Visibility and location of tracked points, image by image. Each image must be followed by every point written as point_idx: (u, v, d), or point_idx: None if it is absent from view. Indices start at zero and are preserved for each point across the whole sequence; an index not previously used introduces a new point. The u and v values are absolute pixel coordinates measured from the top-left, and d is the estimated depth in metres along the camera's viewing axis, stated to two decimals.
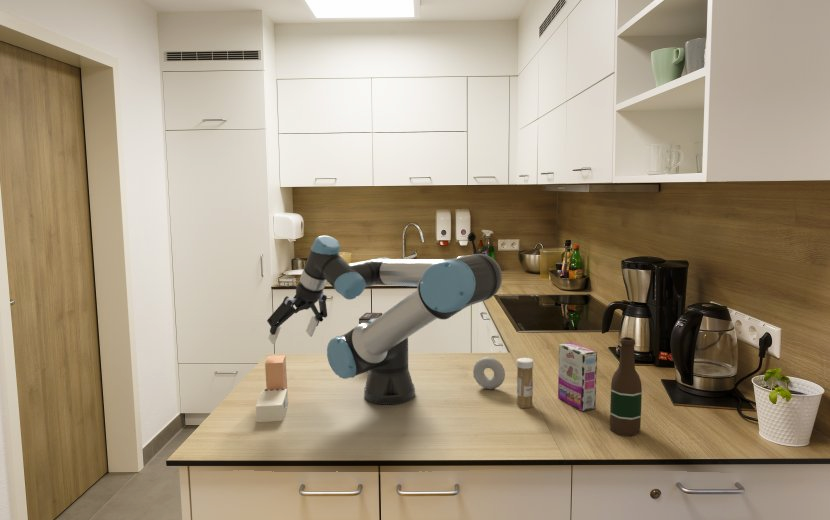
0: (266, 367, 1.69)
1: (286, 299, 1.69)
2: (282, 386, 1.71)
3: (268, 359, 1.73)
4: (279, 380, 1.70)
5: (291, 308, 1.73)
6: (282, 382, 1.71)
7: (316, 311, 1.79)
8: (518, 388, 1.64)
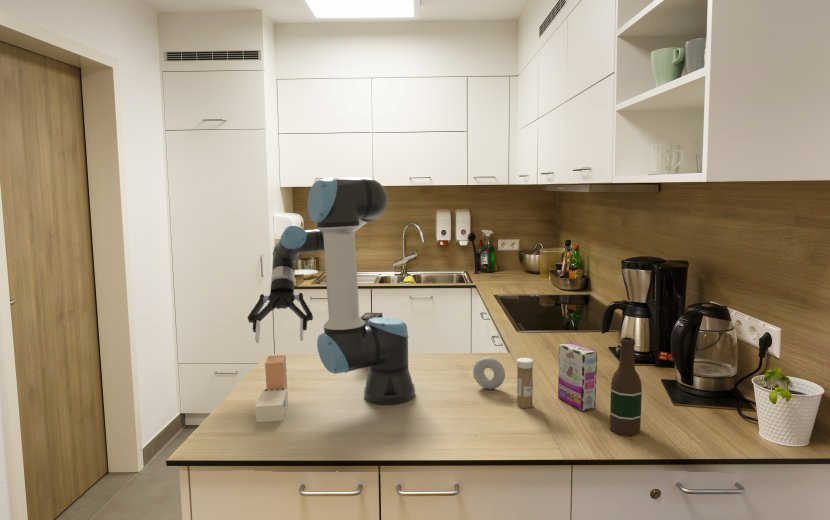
0: (266, 367, 1.69)
1: None
2: (282, 386, 1.71)
3: (268, 359, 1.73)
4: (279, 380, 1.70)
5: None
6: (282, 382, 1.71)
7: (296, 307, 1.89)
8: (518, 388, 1.64)
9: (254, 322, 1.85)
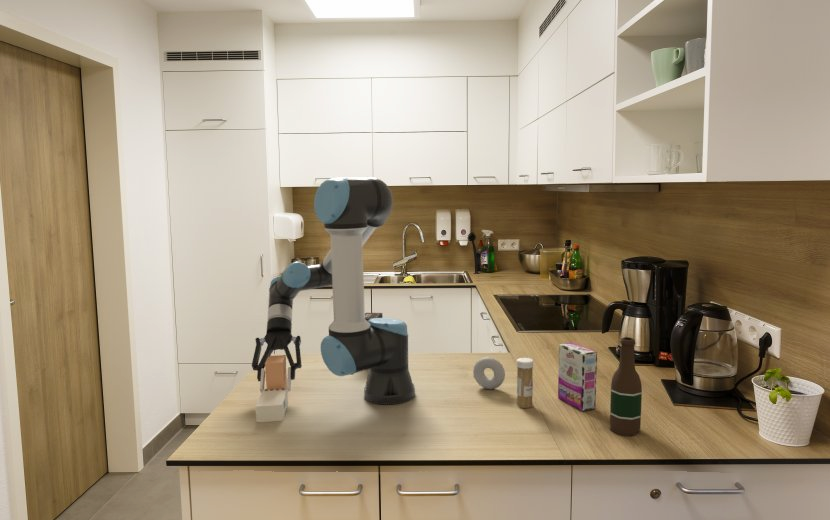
0: (266, 367, 1.69)
1: None
2: (282, 386, 1.71)
3: (268, 359, 1.73)
4: (279, 380, 1.70)
5: None
6: (282, 382, 1.71)
7: (288, 352, 1.77)
8: (518, 388, 1.64)
9: (259, 370, 1.73)
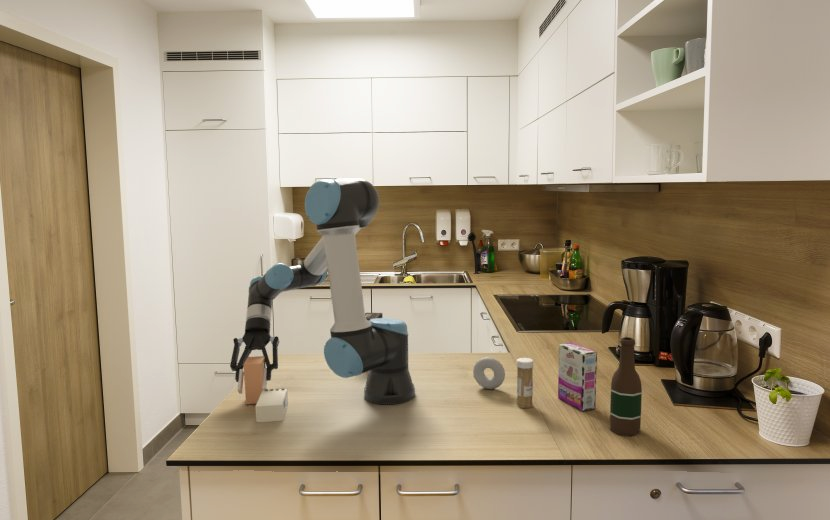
0: (244, 368, 1.69)
1: None
2: (261, 387, 1.70)
3: (247, 360, 1.72)
4: (257, 382, 1.70)
5: None
6: (261, 383, 1.70)
7: (265, 353, 1.76)
8: (518, 388, 1.64)
9: (237, 371, 1.73)
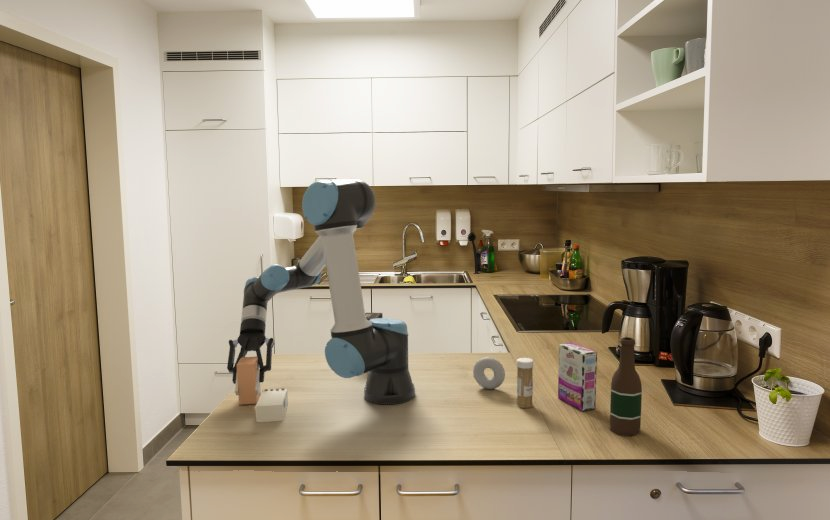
0: (238, 368, 1.69)
1: None
2: (254, 388, 1.70)
3: (240, 360, 1.72)
4: (250, 382, 1.70)
5: None
6: (254, 383, 1.70)
7: (259, 354, 1.76)
8: (518, 388, 1.64)
9: (234, 372, 1.72)
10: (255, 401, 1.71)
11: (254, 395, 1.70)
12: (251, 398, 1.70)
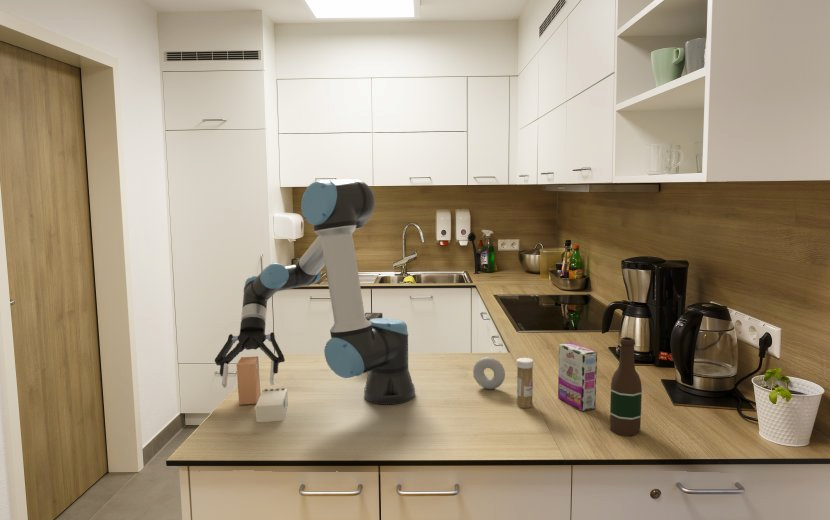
0: (238, 368, 1.69)
1: None
2: (254, 388, 1.70)
3: (240, 360, 1.72)
4: (250, 382, 1.70)
5: None
6: (254, 383, 1.70)
7: (266, 349, 1.78)
8: (518, 388, 1.64)
9: (221, 365, 1.74)
10: (255, 401, 1.71)
11: (254, 395, 1.70)
12: (251, 398, 1.70)
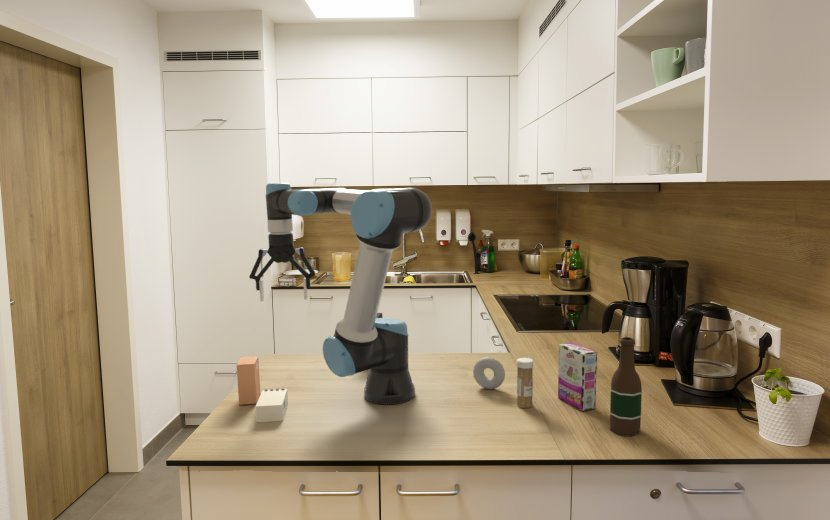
0: (238, 368, 1.69)
1: None
2: (254, 388, 1.70)
3: (240, 360, 1.72)
4: (250, 382, 1.70)
5: None
6: (254, 383, 1.70)
7: (297, 266, 1.84)
8: (518, 388, 1.64)
9: (257, 281, 1.84)
10: (255, 401, 1.71)
11: (254, 395, 1.70)
12: (251, 398, 1.70)
